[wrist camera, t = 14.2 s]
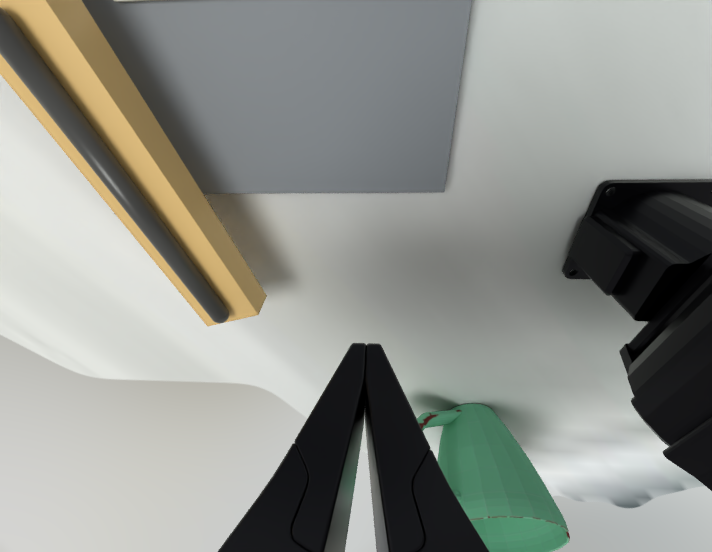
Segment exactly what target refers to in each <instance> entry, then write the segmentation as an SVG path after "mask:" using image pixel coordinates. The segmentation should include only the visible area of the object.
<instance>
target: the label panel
mask: <svg viewBox="0 0 712 552" xmlns="http://www.w3.org/2000/svg"><path fill="white" fill-rule="evenodd" d="M82 2H83V3H84V5H85V7H86V8H87V10H88V11H89V13H90V15H91V16H92V18H93V19H94V21H95V23H96V24H97V26H98V27H99V29H100V30H101V32H102V34H103V35H104V37H105V38H106V40H107V42H108V43H109V45H110V46H111V48H112V50H113V51H114V53H115V54H116V56H117V58H118V59H119V61H120V62H121V64H122V66H123V67H124V69H125V70H126V72H127V74H128V75H129V77H130V78H131V80H132V82H133V83H134V85H135V86H136V88H137V90H138V91H139V93H140V94H141V96H142V98H143V99H144V101H145V102H146V104H147V106H148V107H149V109H150V110H151V112H152V113H153V115H154V117H155V118H156V120H157V121H158V123H159V125H160V126H161V128H162V129H163V131H164V133H165V134H166V136H167V137H168V139H169V141H170V142H171V144H172V145H173V147H174V149H175V150H176V152H177V153H178V155H179V157H180V158H181V160H182V161H183V163H184V165H185V166H186V168H187V169H188V171H189V173H190V174H191V176H192V177H193V179H194V181H195V182H196V184H197V185H198V187H199V188H200V190H201V192H202V193H203V194H230V193H405V192H444V191H445V184H446V177H447V170H448V163H449V156H450V149H451V142H452V135H453V128H454V121H455V114H456V107H457V100H458V93H459V86H460V79H461V72H462V65H463V58H464V51H465V44H466V37H467V30H468V23H469V16H470V9H471V2H472V0H82Z"/></svg>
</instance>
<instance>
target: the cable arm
mask: <svg viewBox="0 0 712 552" xmlns="http://www.w3.org/2000/svg"><path fill="white" fill-rule="evenodd" d="M0 74H1V75H2V77H3V78H4V79H5V80H6V81H7V83H8V84H9V85H10V86H11V88H12V89H13V90H14V91H15V92H16V94H17V95H18V96H19V97H20V99H21V100H22V101H23V102H24V103H25V105H26V106H27V107H28V108H29V109H30V111H31V112H32V113H33V114H34V116H35V117H36V118H37V119H38V120H39V122H40V123H41V124H42V125H43V127H44V128H45V129H46V130H47V131H48V133H49V134H50V135H51V136H52V137H53V139H54V140H55V141H56V142H57V144H58V145H59V146H60V147H61V148H62V150H63V151H64V152H65V153H66V155H67V156H68V157H69V158H70V159H71V161H72V162H73V163H74V164H75V165H76V167H77V168H78V169H79V170H80V172H81V173H82V174H83V175H84V176H85V178H86V179H87V180H88V181H89V183H90V184H91V185H92V186H93V187H94V189H95V190H96V191H97V192H98V193H99V195H100V196H101V197H102V198H103V200H104V201H105V202H106V203H107V204H108V206H109V207H110V208H111V209H112V211H113V212H114V213H115V214H116V215H117V217H118V218H119V219H120V220H121V221H122V223H123V224H124V225H125V226H126V228H127V229H128V230H129V231H130V232H131V234H132V235H133V236H134V237H135V239H136V240H137V241H138V242H139V243H140V245H141V246H142V247H143V248H144V249H145V251H146V252H147V253H148V254H149V256H150V257H151V258H152V259H153V260H154V262H155V263H156V264H157V265H158V267H159V268H160V269H161V270H162V271H163V273H164V274H165V275H166V276H167V277H168V279H169V280H170V281H171V282H172V284H173V285H174V286H175V287H176V288H177V290H178V291H179V292H180V293H181V295H182V296H183V297H184V298H185V299H186V301H187V302H188V303H189V304H190V305H191V307H192V308H193V309H194V310H195V312H196V313H197V314H198V315H199V316H200V318H201V319H202V320H203V321H204V323H205V324H206V325H207V326H211V325H216V324H220V323H224V322H229V321H233V320H238V319H242V318H247V317H251V316H256V315H258V314H259V312H260V310H261V308H262V305H263V303H264V301H265V299H266V296H267V295H266V294H265V292H264V291H263V289H262V287H261V286H260V284H259V283H258V281H257V279H256V278H255V276H254V275H253V273H252V271H251V270H250V268H249V267H248V265H247V264H246V262H245V260H244V259H243V257H242V256H241V254H240V252H239V251H238V249H237V248H236V246H235V244H234V243H233V241H232V240H231V238H230V236H229V235H228V233H227V232H226V230H225V228H224V227H223V225H222V224H221V222H220V220H219V219H218V217H217V216H216V214H215V212H214V211H213V209H212V208H211V206H210V204H209V203H208V201H207V200H206V198H205V196H204V195H203V193H202V192H201V190H200V188H199V187H198V185H197V184H196V182H195V181H194V179H193V177H192V176H191V174H190V173H189V171H188V169H187V168H186V166H185V165H184V163H183V161H182V160H181V158H180V157H179V155H178V153H177V152H176V150H175V149H174V147H173V145H172V144H171V142H170V141H169V139H168V137H167V136H166V134H165V133H164V131H163V129H162V128H161V126H160V125H159V123H158V121H157V120H156V118H155V117H154V115H153V113H152V112H151V110H150V109H149V107H148V106H147V104H146V102H145V101H144V99H143V98H142V96H141V94H140V93H139V91H138V90H137V88H136V86H135V85H134V83H133V82H132V80H131V78H130V77H129V75H128V74H127V72H126V70H125V69H124V67H123V66H122V64H121V62H120V61H119V59H118V58H117V56H116V54H115V53H114V51H113V50H112V48H111V46H110V45H109V43H108V42H107V40H106V38H105V37H104V35H103V34H102V32H101V30H100V29H99V27H98V26H97V24H96V23H95V21H94V19H93V18H92V16H91V15H90V13H89V11H88V10H87V8H86V7H85V5H84V3H83V2H82V0H0Z"/></svg>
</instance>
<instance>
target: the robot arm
mask: <svg viewBox="0 0 712 552" xmlns="http://www.w3.org/2000/svg"><path fill="white" fill-rule="evenodd" d="M611 187H612V188H611ZM609 188H611V190H610V191H609V192H608V193H606V191H607V190H608V189H609ZM572 270H573V271H572ZM570 271H572V272H570ZM562 272H563V274H564V275H565V277H567V278H569V279H592V281H593V282H594V283H595V284H596V285H597V286H598V287H599V288H600V289H601V290H602V291H603V292H604V293H605V294H606V295H611V296H612V297H613V298H614V299H615V300H616V301H617V302H618V303H619V304H620V305H621V306H622V307H623V308H624V309H625V310H626V311H627V312H628V314H629V315H630V316H631V317H632V318H633V319H634V320H636V321H647V322H648V323H647V325H646V326H645V327H644V328H643V329H642V330H641V331H640V332H639V333H638V334H637V335H636V337H635V338H634V339H633V340H632V341H631V342H630V343H629V344H625V345H624V347H623V348H622V349H621V350H620V355H621V357H622V360H623V363H624V366H625V369H626V371H627V374H628V380H629V383H630V386H631V389H632V392H633V394H634V397H633V398H632V400H631V402H632V405H633V407H634V408H635V410H636V411H637V412H638V414H639V415H640V417H641V418H642V419H643V421H644V422H645V423H646V424H647V425H648V426H649V427H650V428H651V429H652V431H653V432H654V433H655V434H656V435H657V436H658V437H659V438H660V439H661V440H662V441H663V442H664V443H665V444H667V445H668V446H669V447H668V448H667V449H665V450H664V451H663V454H664V456H665V457H666V458H667V459H668V460H670V461H671V462H673V463H674V464H676V465H677V466H679V467H680V468H682V469H683V470H685V471H686V472H688V473H689V474H691V475H692V476H694V477H695V478H697V479H698V480H699V481H700V482H702V483H703V484H704V485H705V486H707V487H708V488H709V489H710V490H711V491H712V180H610V181H606V182H604V183H602V184H601V185H600V186H599V187H598V189H597V191H596V193H595V196H594V198H593V200H592V203H591V205H590V207H589V210H588V212H587V214H586V216H585V218H584V220H583V221H582V224H581V226H580V228H579V230H578V233H577V235H576V237H575V240H574V242H573V244H572V247H571V249H570V251H569V256H568V258H567V260H566V263H565V265H564V267H563V270H562ZM364 416H365V426H366V437H367V448H368V459H369V470H370V480H371V493H372V504H373V515H374V526H375V537H376V549H377V552H489V550H488V549H487V547H486V545H485V544H484V542H483V540H482V539H481V537H480V536H479V534H478V532H477V531H476V529H475V528H474V526H473V524H472V523H471V521H470V519H469V518H468V516H467V515H466V513H465V511H464V510H463V508H462V506H461V505H460V503H459V501H458V499H457V498H456V496H455V494H454V493H453V491H452V489H451V487H450V486H449V484H448V482H447V480H446V478H445V476H444V474H443V472H442V470H441V468H440V466H439V464H438V462H437V460H436V458H435V456H434V454H433V452H432V450H430V446H429V444H428V442H427V440H426V438H425V435H424V433H423V431H422V429H421V427H420V425H419V423H418V421H417V419H416V417H415V415H414V413H413V411H412V408H411V406H410V404H409V402H408V400H407V398H406V396H405V394H404V392H403V390H402V388H401V386H400V384H399V381H398V379H397V377H396V375H395V373H394V371H393V369H392V367H391V365H390V363H389V361H388V359H387V357H386V354H385V352H384V350H383V348H382V346H381V345H380V344H372V343H369V344H367V345H366V344H365V343H353V344H352V345H351V346H350V348H349V349H348V351H347V353H346V355H345V356H344V358H343V360H342V361H341V363H340V365H339V366H338V368H337V370H336V371H335V373H334V375H333V377H332V378H331V380H330V382H329V383H328V385H327V387H326V388H325V390H324V392H323V394H322V395H321V397H320V399H319V400H318V402H317V404H316V405H315V407H314V409H313V410H312V412H311V414H310V416H309V417H308V419H307V421H306V422H305V424H304V426H303V428H302V429H301V431H300V433H299V434H298V436H297V438H296V439H295V443H294V444H292V446H291V448H290V449H289V451H288V453H287V454H286V456H285V458H284V459H283V461H282V462H281V464H280V466H279V467H278V469H277V470H276V472H275V474H274V475H273V477H272V478H271V480H270V481H269V482H268V484H267V485H266V487H265V488H264V490H263V491H262V492H261V494H260V496H259V497H258V498H257V499H256V501H255V502H254V503H253V505H252V506H251V508H250V509H249V510H248V512H247V513H246V514H245V516H244V517H243V518H242V520H241V521H240V522H239V524H238V525H237V527H236V528H235V529H234V531H233V532H232V533H231V534H230V536H229V537H228V538H227V540H226V541H225V543H224V544H223V545H222V547H221V548H220V549H219V551H218V552H345V545H346V539H347V532H348V526H349V519H350V513H351V506H352V499H353V492H354V486H355V479H356V472H357V466H358V459H359V452H360V446H361V439H362V432H363V425H364Z"/></svg>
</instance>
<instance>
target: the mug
mask: <svg viewBox="0 0 712 552" xmlns="http://www.w3.org/2000/svg"><path fill="white" fill-rule="evenodd" d="M417 421H418V423H419V425H420V427H421V429H422V431H423V430H424V429H425V428H428V427H434V426H441V425H444V426H443V431H442V435H441V440H440V447H439V454H438V461H437V462H438V464H439V466H440V468H441V470H442V472H443V474H444V476H445V478H446V480H447V482H448V484H449V486H450V487H451V489H452V491H453V493H454V494H455V496H456V498H457V499H458V501H459V503H460V505H461V506H462V508H463V510H464V511H465V513H466V515H467V516H468V518H469V519H470V521H471V523H472V524H473V526H474V528H475V529H476V531H477V532H478V534H479V536H480V537H481V539H482V540H483V542H484V544H485V545H486V547H487V549H488V550H489V552H552V551H555V550H558V549H560V548H562V547H563V546H564V545H566V544H567V543H568V542H569V539H570V536H569V533H568V528H567V525H566V522H565V520H564V518H563V516H562V514H561V512H560V510H559V509H558V507H557V506H556V504H555V502H554V500H553V498H552V497H551V495H550V493H549V491H548V490H547V488H546V486H545V484H544V483H543V481H542V479H541V478H540V476H539V475H538V473H537V471H536V470H535V468H534V466H533V465H532V463H531V462H530V460H529V458H528V457H527V456H526V454H525V453H524V451H523V450H522V448H521V447H520V446H519V444H518V443H517V441H516V440H515V438H514V437H513V436H512V434H511V433H510V431H509V430H508V429H507V427H506V426H505V425H504V424H503V423H502V421H501V420H500V419H499V418H498V416H497V415H496V414H495V413H494V411H493V410H492V409H491V408H489V407H488V406H485V405H482V404H474V403H471V404H463V405H460V406H456V407H455V408H453V409H451V410H447V411H436V412H426V413H424V414H422V415H421V416H420V417H419V418H418V419H417Z"/></svg>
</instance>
